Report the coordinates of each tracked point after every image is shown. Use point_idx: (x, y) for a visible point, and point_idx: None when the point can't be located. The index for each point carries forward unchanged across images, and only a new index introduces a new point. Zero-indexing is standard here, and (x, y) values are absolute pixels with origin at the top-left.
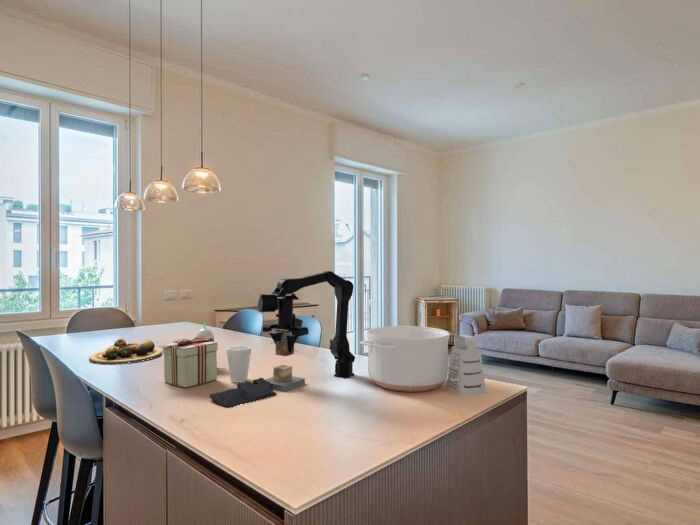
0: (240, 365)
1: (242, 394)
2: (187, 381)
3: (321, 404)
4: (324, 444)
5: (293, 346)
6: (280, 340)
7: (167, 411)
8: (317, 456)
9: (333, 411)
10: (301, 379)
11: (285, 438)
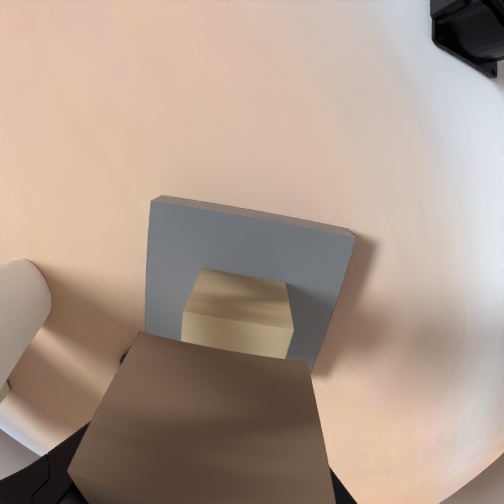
0: (13, 365)
1: None
2: (1, 396)
3: (446, 404)
4: (438, 483)
5: (339, 481)
6: (77, 498)
7: None
8: (428, 495)
9: (467, 418)
10: (344, 265)
11: (387, 499)
